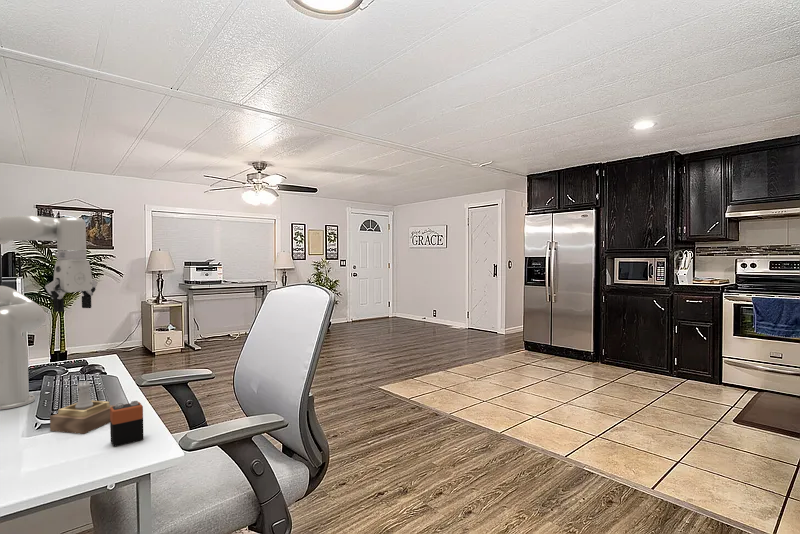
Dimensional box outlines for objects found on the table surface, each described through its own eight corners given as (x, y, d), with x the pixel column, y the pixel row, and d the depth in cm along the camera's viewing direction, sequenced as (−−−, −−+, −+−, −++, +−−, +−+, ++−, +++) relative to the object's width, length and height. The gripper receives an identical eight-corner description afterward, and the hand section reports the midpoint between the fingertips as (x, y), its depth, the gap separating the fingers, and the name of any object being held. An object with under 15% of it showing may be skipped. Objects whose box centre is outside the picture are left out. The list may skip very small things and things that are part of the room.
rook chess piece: (90, 406, 132) (89, 379, 131) (96, 410, 129) (96, 382, 129) (72, 411, 128) (71, 382, 128) (78, 414, 125) (77, 385, 125)
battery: (110, 442, 117) (109, 403, 116) (140, 435, 121) (139, 397, 121) (113, 447, 113) (112, 407, 113) (143, 440, 118) (143, 401, 118)
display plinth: (50, 430, 124) (49, 410, 124) (85, 416, 135) (85, 398, 135) (83, 434, 122) (83, 413, 122) (117, 419, 133) (117, 400, 132)
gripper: (56, 256, 136) (57, 313, 137) (104, 256, 153) (105, 307, 154) (35, 256, 138) (37, 313, 139) (86, 256, 155) (87, 306, 155)
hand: (73, 309), depth 146 cm, fingers open, 9 cm apart
